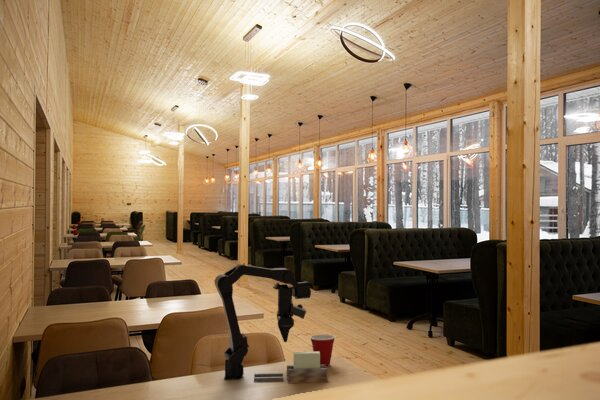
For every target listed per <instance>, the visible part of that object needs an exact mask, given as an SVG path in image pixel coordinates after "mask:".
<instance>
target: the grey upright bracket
mask: <svg viewBox="0 0 600 400" xmlns="http://www.w3.org/2000/svg"><path fill="white" fill-rule="evenodd" d="M283 381H284V373H283V372H261V373H260V372H259V373H258V372H257V373H256V372H255V373H254V376H253V382H255V383H256V382H283Z"/></svg>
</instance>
